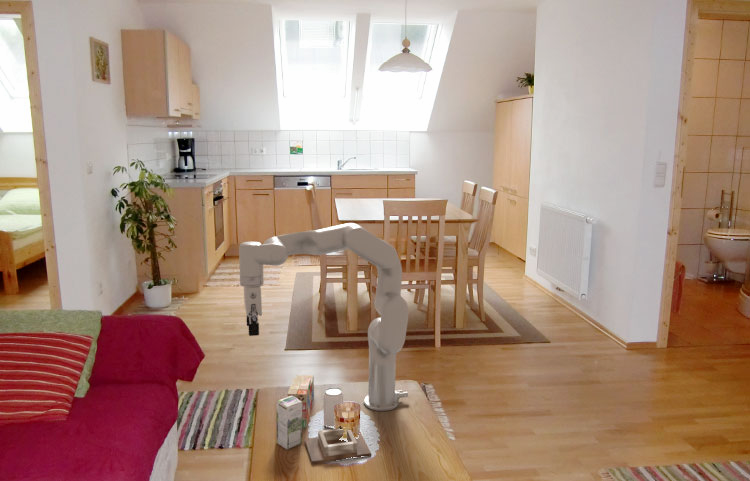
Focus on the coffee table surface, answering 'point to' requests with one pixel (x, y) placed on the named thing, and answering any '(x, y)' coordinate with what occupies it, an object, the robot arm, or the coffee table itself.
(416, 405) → the coffee table surface
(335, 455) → the collar board
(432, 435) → the coffee table surface
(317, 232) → the robot arm
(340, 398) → the can
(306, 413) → the stack of blocks
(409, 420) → the coffee table surface
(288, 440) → the syrup box
